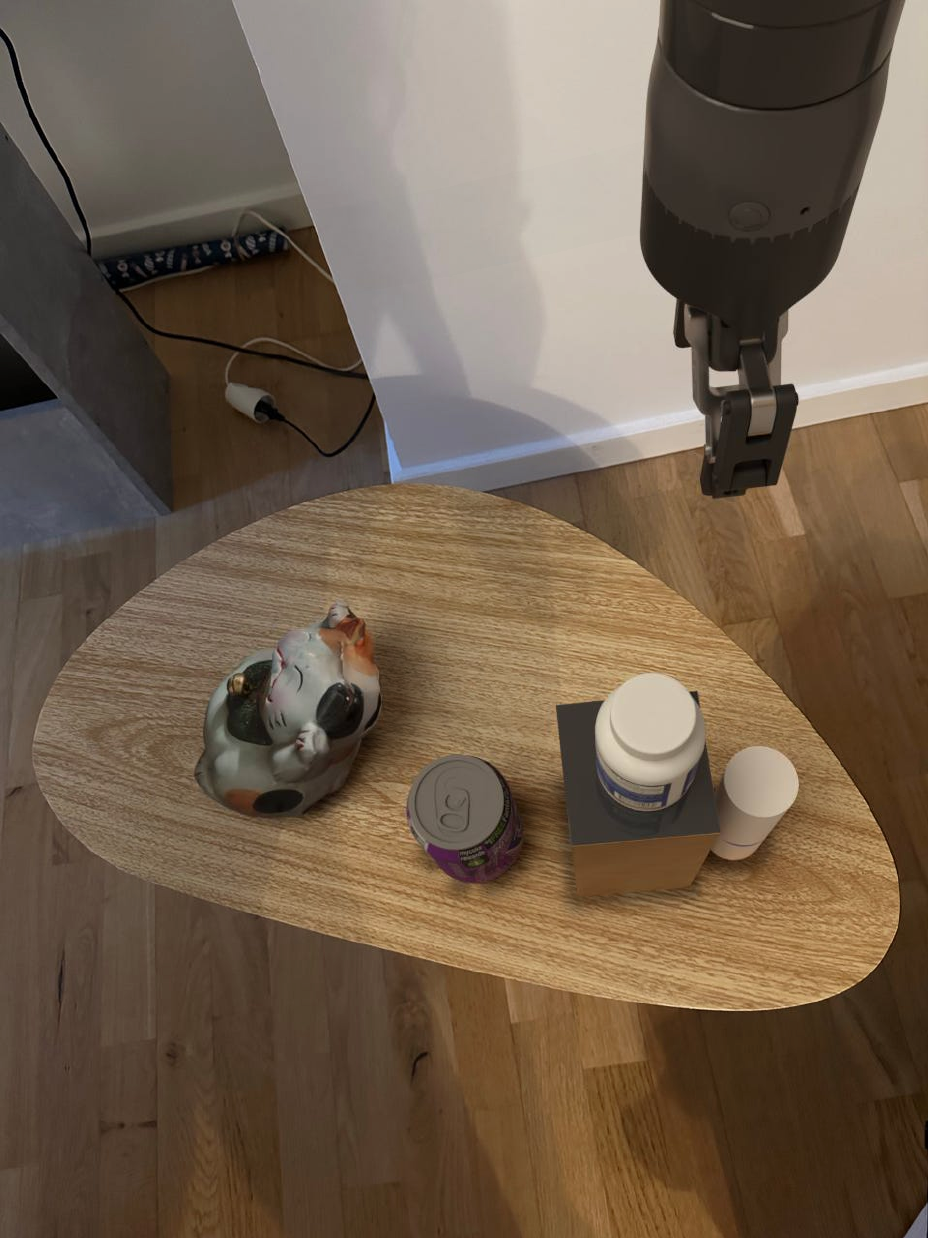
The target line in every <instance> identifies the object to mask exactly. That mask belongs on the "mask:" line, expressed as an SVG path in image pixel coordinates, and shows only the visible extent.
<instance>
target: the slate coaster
mask: <svg viewBox="0 0 928 1238" xmlns="http://www.w3.org/2000/svg"><path fill="white" fill-rule="evenodd" d="M689 693H690V694H691V696H692V697H693V698H694V700H695V701H696V703H697V704H698V706H699V707H700V708H701V704H700V699H699V691H698V690H693V691H689ZM604 701H605V699H602V700H592V701H583V702H575V703H574V702H573V703H564V704H555V713H556V721H557V733H558V740H559V749H560V760H561V768H562V769H561V770H562V778H563V787H564V788H563V789H564V796H565V797H564V798H565V805H566V814H567V815H566V816H567V825H568V834H569V835H568V836H569V843H570V848H571V847H578V846H589V845H600V844H611V843H623V842H634V841H645V840H656V839H667V838H678V837H689V836H701V835H712V834H720V826H719V819H718V813H717V807H716V801H715V795H714V793H715V790H714V784H713V778H712V771H711V765H710V760H709V753H708V747H707V741H706V739H705V745H704V750H703V752H702V756H701V758H700V761H699V764H698V767H697V770H696V773H695V776H694V779H693V781H692V783H691V785H690V787H689V789H688V790H687V791H686V793H685V794H684V795H683V796H682V797H681V798H680V799H679V800H678V801H676V802H675V803H673V804H672V805H670V806H668V807H666V808H663V809H660V810H655V811H640V810H635V809H632V808H629V807H626V806H624V805H622V804H620V803H619V802H617V801H616V800H615V799H614V798H613V797H611V796H610V795H609V793H608V792H607V791H606V789H605V788H604V786H603V785H602V783H601V780H600V778H599V775H598V771H597V766H596V745H595V725H596V719H597V716H598V712H599V710H600V707H601V706H602V704H603V702H604Z"/></svg>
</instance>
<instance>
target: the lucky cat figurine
mask: <svg viewBox="0 0 928 1238" xmlns="http://www.w3.org/2000/svg"><path fill="white" fill-rule="evenodd" d="M379 676H380V671H379V669H378V666H377V665H376V663H375V645H374V641H373V638H372V636H371V632H370V631H369V630H368V628H367V626H366V622H365V620H364V618H363V617H358V616H357V615H356V614H355V613H354V612H353V611H352V610H351V609H350V606H349V605H348V603H347V601H345V600H344V601H342V600H339V599H338V598H337V599H335V603H333V604H332V605H331V606H330V608H329V609H328V612H327V616H326V617H325V618H321V619H319V620H316V621H314V622H313V623H311V625H310V626H307V627H300V628H297V629H293V630H288V631H287V632H286V633H285V634H284V635H283V636H281V637H280V638H279V640H278V642H277V645H276V647H274V646H273V647H265V648H259V649H258V650H257V649H256V651H254V652H252V653H251V654H248V655H247V656H246V657H245V658H244V659H243V660H242V661H241V662H240V663H239V665H238V667H237V668H236V669H235V670H234V671H233V672H232V673H227V674H225V675H223V677H222V680H221V683H220V684H219V685H218V687H216V689H214V691H213V692H212V694H211V697H210V698H209V700H208V702H207V705H206V708H205V715H204V719H203V725H202V738H203V744H204V748H203V752H202V753H201V754H200V757H199V759H198V760H197V762H196V765H195V768H194V771H193V777H194V779H195V780H196V782H197V785H198V786H199V788H200V790H202V792H203V793H204V794H205V795H206V796H207V797H209V798H210V799H212V800H213V801H215V802H216V803H218V805H221V806H222V807H225V808H227V809H228V810H230V811H233V812H235V813H237V814H238V813H239V814H240V815H243V816H246V817H252V818H258V819H259V818H260V819H279V818H282V819H284V818H294V819H295V818H304V817H305V816H306V814H308V813H309V811H310V810H311V809H312V808H313V807H315V805H316V804H317V803H318V802H319V801H321V800H322V799H324V798H326V797H328V796H331V795H333V794H334V793H336V792H337V791H338V790H340V789H341V788H342V787H343V786H344V785H345V783H346V782H347V781H346V780H347V778H348V776H349V774H350V771H351V767H352V765H353V763H354V760H355V758H356V757H357V755H358V753H359V750H360V747H361V743H362V739H364V738H365V737H366V736H368V734H370V732H371V731H372V730H373V729H374V727H375V725H376V723H377V721H378V719H379V717H380V716H381V712H382V707H383V706H382V705H383V697H382V693H381V687H380V682H379V679H380V677H379Z"/></svg>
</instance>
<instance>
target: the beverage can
mask: <svg viewBox="0 0 928 1238" xmlns="http://www.w3.org/2000/svg"><path fill="white" fill-rule="evenodd" d="M405 806H406V807H405V812H406V813H405V814H406V815H405V816H406V820H407V825H408V827H409V830H410V832H411V835H412V836H413V838H414V840H415V841H416V843H417V844H418V845H419V847H421V849H422V850H424V852H425V853H426V855H428V856H429V858H430V859H431V860H432V861H433V862H434V864H436V866H437V867H438V868H439V869H440V870H441V871H442V872H443V873H445V874H446V875H447V876H449V877H450V878H452V879H454V880H456V881H459V882H461V883H466V884H483V883H488V882H491V881H493V880H496V879H497V878H500V877H501V876H503V875H504V874H505V873H507V872H508V871H509V870H510V869H511V868H512V867H513V866H514V864H515V862H516V861H517V859H518V857H519V855H520V853H521V851H522V847H523V842H524V826H523V821H522V818H521V815H520V812H519V809H518V806H517V804H516V801H515V798H514V796H513V792H512V790H511V788H510V785H509V783H508V781H507V780H506V777H505V776H504V775H503V774H502V772H500V770H499V769H498V768H497V767H495V766H494V765H493V764H492V763H490V762H488V761H487V760H485V759H483V758H481V757H478V756H475V755H471V754H462V753H454V754H453V753H452V754H447V755H442V756H440V757H438V758H435V759H434V760H432V761H430V762H429V763H427V764H426V765H425V766H424V767H423V768H422V769H421V770H420V771H419V772H418V773H417V775H416V776H415V778H414V780H413V782H412V784H411V786H410V789H409V791H408V794H407V798H406V805H405Z"/></svg>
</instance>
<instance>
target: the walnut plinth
mask: <svg viewBox="0 0 928 1238" xmlns="http://www.w3.org/2000/svg"><path fill="white" fill-rule="evenodd" d="M718 835H719V834H712V835H701V836H689V837H678V838H667V839H656V840H645V841H634V842H623V843H611V844H600V845H589V846H578V847H571V846H570V851H571V858H572V866H573V871H574V872H573V873H574V879H575V886H576V894H577V897H580V898H581V897H590V896H592V897H593V896H603V895H604V896H605V895H615V894H625V893H626V894H627V893H637V892H639V893H640V892H649V891H662V890H673V889H685V888H691V885H692V884H693V882H694V880H695V878H696V876H697V875H698V872H699V871H700V869H701V868H702V866H703V864H704V862H705V860H706V859H707V856H708V855H709V853H710V851H711V850H710V849H711V848H712V846H713V844H714V842H715V840H716V839H717V837H718Z"/></svg>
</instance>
